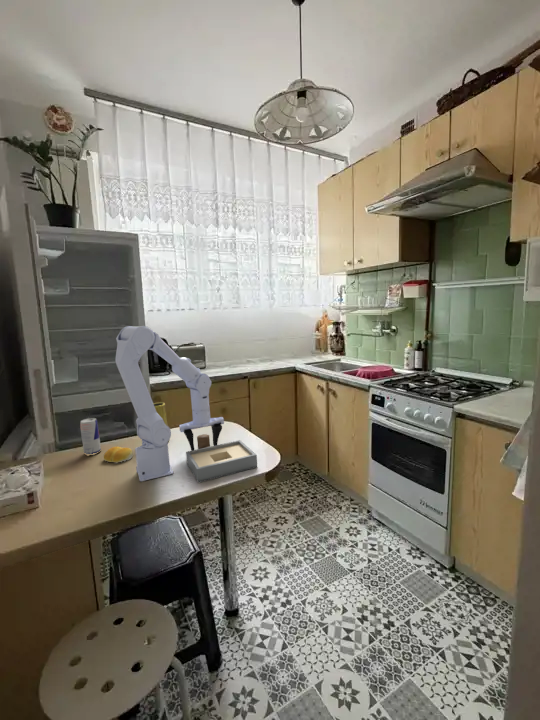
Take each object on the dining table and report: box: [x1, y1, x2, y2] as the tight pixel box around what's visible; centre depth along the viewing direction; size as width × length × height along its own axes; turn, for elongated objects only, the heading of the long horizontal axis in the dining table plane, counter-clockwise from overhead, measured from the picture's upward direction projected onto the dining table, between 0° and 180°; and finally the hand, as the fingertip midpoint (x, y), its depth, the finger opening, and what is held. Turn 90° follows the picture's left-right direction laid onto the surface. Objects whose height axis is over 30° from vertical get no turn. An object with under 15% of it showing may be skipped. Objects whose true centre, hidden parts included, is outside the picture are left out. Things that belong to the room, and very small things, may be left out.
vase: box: [153, 401, 171, 441], centre depth 132 cm, size 6×6×14 cm
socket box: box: [185, 439, 258, 483], centre depth 109 cm, size 18×14×4 cm
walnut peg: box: [196, 433, 211, 449], centre depth 119 cm, size 4×4×6 cm
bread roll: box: [103, 445, 134, 464], centre depth 119 cm, size 8×9×4 cm
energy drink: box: [79, 417, 102, 454], centre depth 124 cm, size 5×5×12 cm
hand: (204, 448), depth 119 cm, fingers open, 7 cm apart
